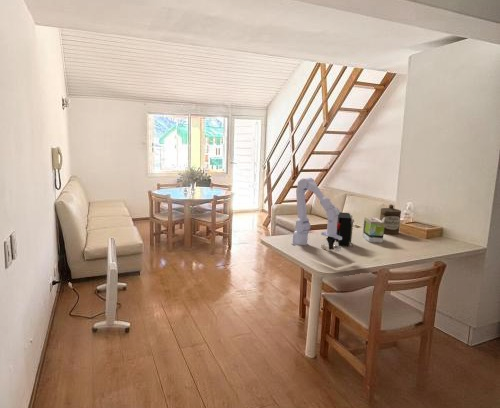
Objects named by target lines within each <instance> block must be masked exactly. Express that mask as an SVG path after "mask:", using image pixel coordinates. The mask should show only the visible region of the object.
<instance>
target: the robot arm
mask: <svg viewBox="0 0 500 408" xmlns="http://www.w3.org/2000/svg"><path fill="white" fill-rule="evenodd" d="M307 191H311V192H312V193H313V194H314V195H315V196H316V197H317V198H318V199H319V204H320V205H321V206H322V208H323V209H324V211H325V215H326V217H327V226H326V231H321V233H320V234H321V236H324V237H326V241H327V244H329V249H331V250H334V248H333V245H335V242H336V239H339V240H342V237H341V236H339V235H337V234H336V233H337V219H338V215H339V212H340V209H339V208H338V207H337V206H335V205H334V204H333V203H332V201H331V198H329V197H326V196H325V195H324V194H323V192H322V191H321V189H320V188H319V186H318V184H317V182H316V181H315V180H314V178H312V177H307V178H301V179H300V180H298V181H297V186H296V190H295V195H296V196H295V197H296V208H297V219H296V220H295V225H294V229H295V230H294V232H293V233H292V243H291V245H292V246H293V245H294V246H306V245H308V239H309V238H308V237H309V231H310V229H311V223H310V221H309V220H310V219H309V218H308V217H307V207H306V206H307V204H306V195H305V194H306V192H307Z"/></svg>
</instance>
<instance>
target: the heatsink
mask: <svg viewBox="0 0 500 408" xmlns="http://www.w3.org/2000/svg"><path fill="white" fill-rule="evenodd" d="M325 245H329V244H328V243H325V244H321V245H320V248H322V249H323V247H324V246H325ZM336 246H337V247H336V248H335V247H334V248H333V251H335V252H337V251H341V250H342V246H339V245H336Z"/></svg>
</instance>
